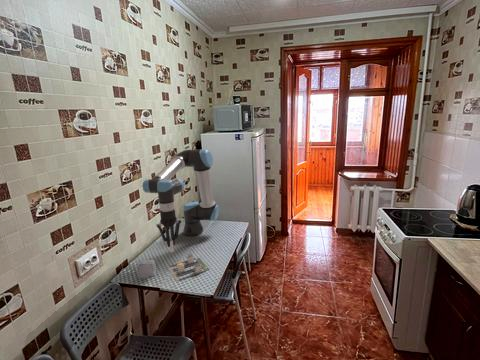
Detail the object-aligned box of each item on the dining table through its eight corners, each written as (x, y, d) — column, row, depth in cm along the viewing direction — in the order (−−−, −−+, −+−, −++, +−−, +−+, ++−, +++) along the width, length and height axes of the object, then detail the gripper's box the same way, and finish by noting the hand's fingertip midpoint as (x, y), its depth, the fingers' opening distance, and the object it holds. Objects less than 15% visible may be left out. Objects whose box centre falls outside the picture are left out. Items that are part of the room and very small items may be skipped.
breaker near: (194, 271, 144) (194, 264, 143) (199, 269, 145) (199, 262, 144) (196, 274, 141) (196, 266, 140) (201, 272, 143) (201, 265, 142)
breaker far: (187, 261, 154) (186, 255, 153) (192, 260, 155) (191, 253, 154) (189, 264, 151) (188, 257, 150) (194, 262, 153) (193, 255, 152)
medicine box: (156, 273, 146) (155, 259, 144) (154, 278, 142) (152, 263, 140) (142, 274, 146) (140, 260, 144) (140, 278, 141) (137, 264, 139)
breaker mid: (177, 270, 145) (177, 263, 144) (183, 269, 147) (182, 262, 146) (179, 273, 143) (178, 266, 142) (184, 271, 144) (184, 264, 143)
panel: (168, 269, 149) (167, 266, 149) (203, 258, 160) (203, 255, 160) (176, 283, 136) (176, 280, 135) (214, 270, 146) (214, 267, 146)
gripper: (156, 214, 128) (161, 257, 133) (182, 208, 134) (185, 250, 139) (152, 210, 134) (157, 252, 139) (177, 205, 141) (181, 245, 146)
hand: (171, 251), depth 139 cm, fingers closed
